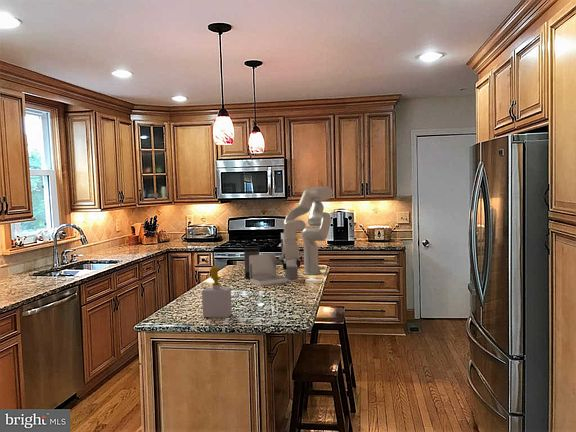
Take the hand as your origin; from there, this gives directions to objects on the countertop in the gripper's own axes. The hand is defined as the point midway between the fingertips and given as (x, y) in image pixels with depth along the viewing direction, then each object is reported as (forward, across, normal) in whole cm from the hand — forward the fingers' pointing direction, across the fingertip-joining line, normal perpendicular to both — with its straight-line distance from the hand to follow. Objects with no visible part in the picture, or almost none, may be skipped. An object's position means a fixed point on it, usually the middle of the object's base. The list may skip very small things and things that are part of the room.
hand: (291, 268), depth 309 cm
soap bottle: (+5, +70, +55) cm, 90 cm away
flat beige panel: (+7, +1, 0) cm, 7 cm away
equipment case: (+7, +17, 0) cm, 18 cm away
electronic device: (+7, +19, -18) cm, 27 cm away
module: (+7, +1, 0) cm, 7 cm away
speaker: (+9, -21, -42) cm, 48 cm away
